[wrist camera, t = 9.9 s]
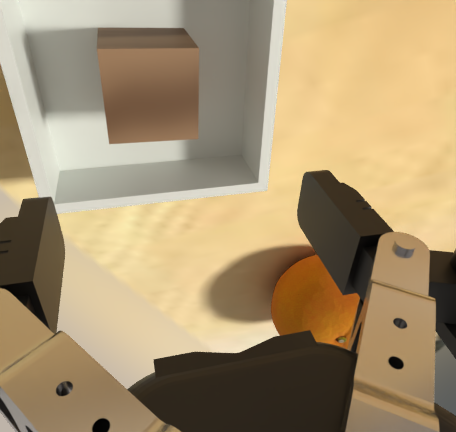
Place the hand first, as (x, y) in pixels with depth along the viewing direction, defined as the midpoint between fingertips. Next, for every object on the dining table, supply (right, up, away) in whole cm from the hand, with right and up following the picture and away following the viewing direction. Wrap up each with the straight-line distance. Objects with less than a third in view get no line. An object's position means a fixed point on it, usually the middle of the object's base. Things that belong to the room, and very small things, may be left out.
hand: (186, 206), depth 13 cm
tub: (-4, +9, +13) cm, 16 cm away
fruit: (+10, -7, +29) cm, 31 cm away
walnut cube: (-4, +9, +12) cm, 16 cm away
